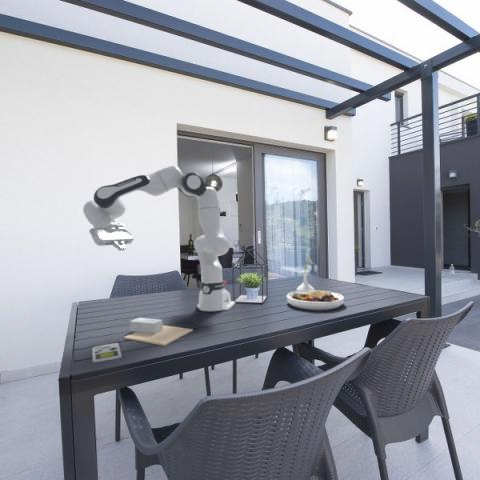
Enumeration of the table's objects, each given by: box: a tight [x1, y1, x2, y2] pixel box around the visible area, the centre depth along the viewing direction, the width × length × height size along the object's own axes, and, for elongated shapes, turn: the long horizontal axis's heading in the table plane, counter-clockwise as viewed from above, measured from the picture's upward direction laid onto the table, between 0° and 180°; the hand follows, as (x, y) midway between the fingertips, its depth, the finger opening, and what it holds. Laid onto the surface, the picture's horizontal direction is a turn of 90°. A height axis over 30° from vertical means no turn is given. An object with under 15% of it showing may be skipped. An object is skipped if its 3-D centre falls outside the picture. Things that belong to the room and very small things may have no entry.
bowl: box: [286, 289, 345, 311], centre depth 171 cm, size 30×30×8 cm
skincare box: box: [129, 317, 164, 334], centre depth 130 cm, size 6×4×12 cm
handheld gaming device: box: [91, 342, 123, 364], centre depth 109 cm, size 9×1×15 cm
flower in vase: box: [296, 253, 315, 291], centre depth 203 cm, size 13×11×25 cm
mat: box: [123, 324, 194, 347], centre depth 126 cm, size 18×20×1 cm
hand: (122, 249), depth 144 cm, fingers closed
